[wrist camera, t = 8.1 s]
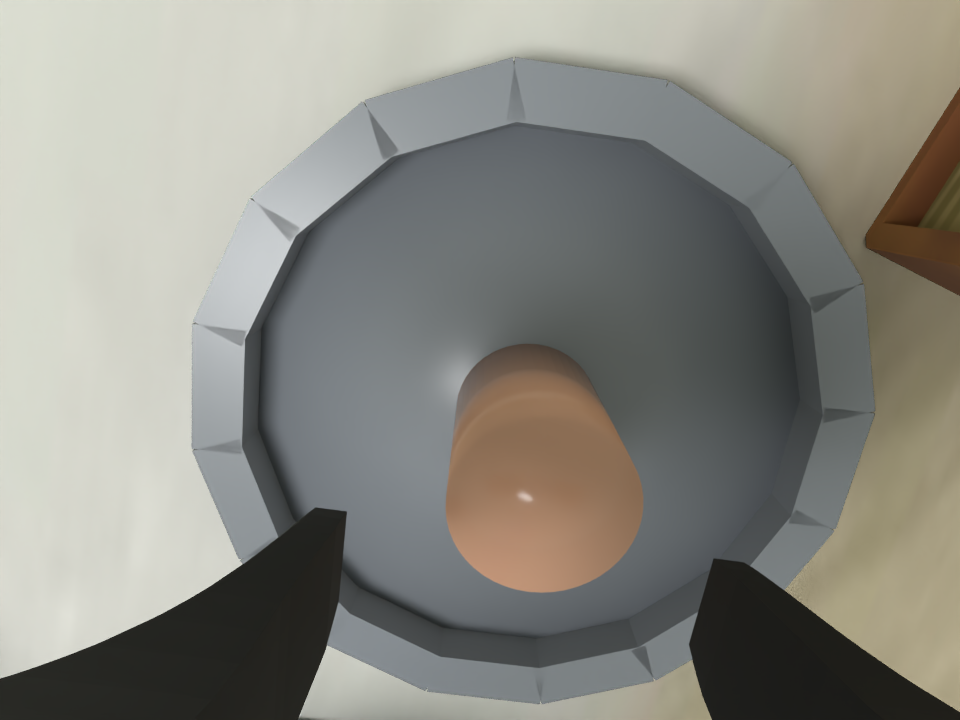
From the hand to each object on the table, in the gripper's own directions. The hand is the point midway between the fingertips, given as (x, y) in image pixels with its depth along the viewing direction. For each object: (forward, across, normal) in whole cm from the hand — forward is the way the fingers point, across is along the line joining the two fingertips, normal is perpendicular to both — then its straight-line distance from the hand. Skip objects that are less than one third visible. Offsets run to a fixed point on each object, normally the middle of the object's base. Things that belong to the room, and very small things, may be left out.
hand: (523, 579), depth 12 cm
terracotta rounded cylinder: (+8, -1, 0) cm, 8 cm away
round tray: (+9, -1, 0) cm, 9 cm away
